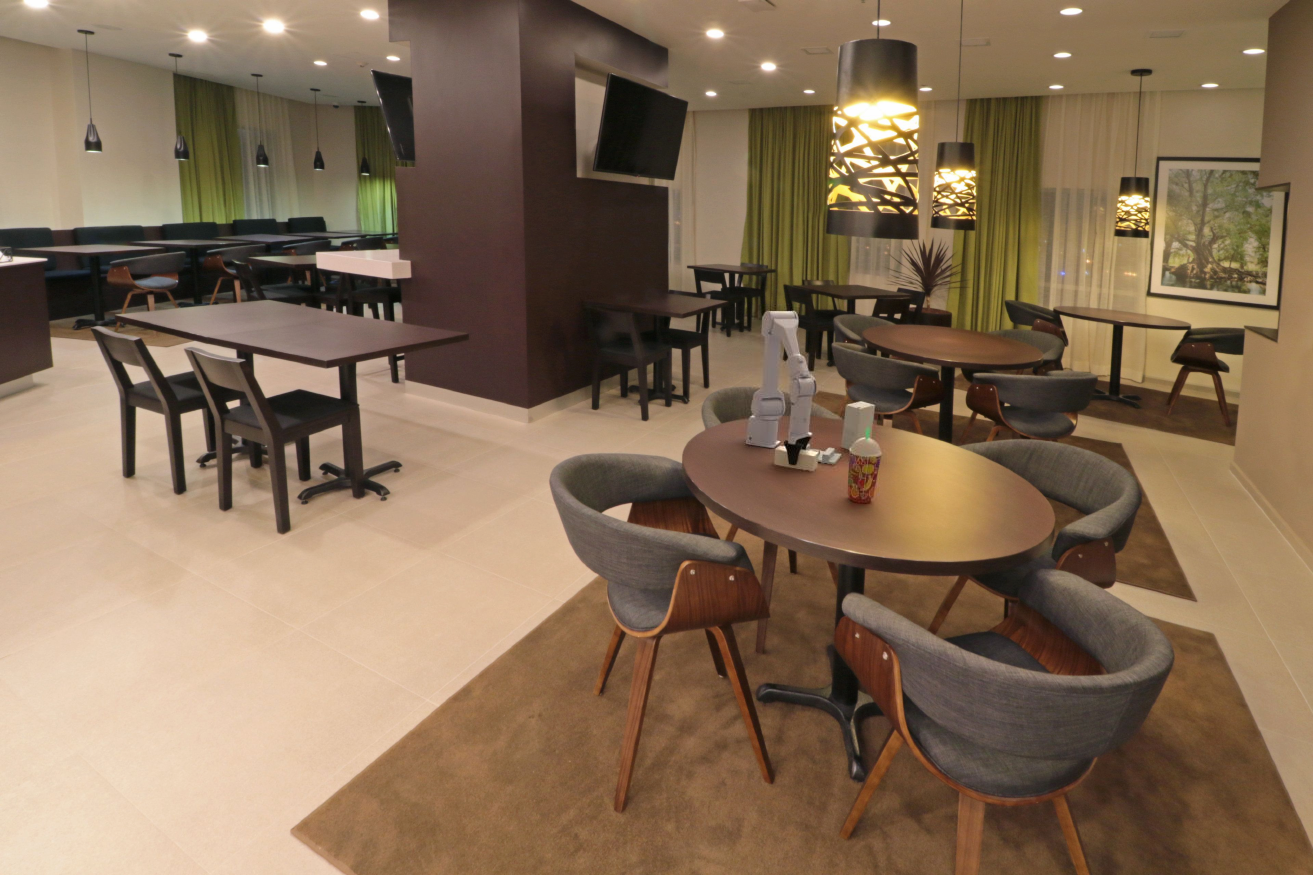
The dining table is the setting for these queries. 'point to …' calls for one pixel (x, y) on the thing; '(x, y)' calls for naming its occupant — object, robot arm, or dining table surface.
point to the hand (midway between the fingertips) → (796, 461)
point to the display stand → (826, 455)
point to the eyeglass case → (805, 459)
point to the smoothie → (863, 469)
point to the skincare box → (857, 422)
